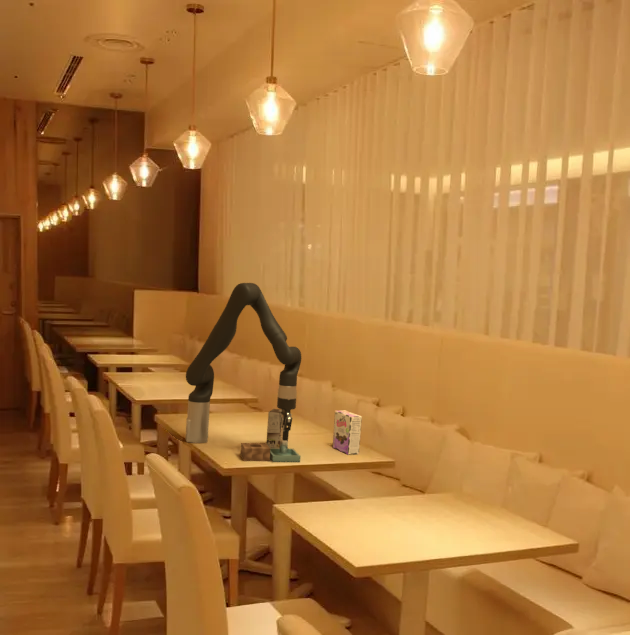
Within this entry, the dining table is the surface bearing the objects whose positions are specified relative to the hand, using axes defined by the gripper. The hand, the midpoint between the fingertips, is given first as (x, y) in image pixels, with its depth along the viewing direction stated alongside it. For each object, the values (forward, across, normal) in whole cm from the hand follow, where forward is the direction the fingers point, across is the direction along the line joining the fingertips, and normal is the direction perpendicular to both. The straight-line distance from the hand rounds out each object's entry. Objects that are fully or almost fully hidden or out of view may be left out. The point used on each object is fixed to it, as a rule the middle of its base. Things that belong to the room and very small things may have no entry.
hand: (284, 439), depth 314 cm
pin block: (+8, 0, -12) cm, 14 cm away
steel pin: (+6, 0, 0) cm, 6 cm away
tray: (+8, 0, 0) cm, 8 cm away
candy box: (+8, -14, +30) cm, 34 cm away
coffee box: (+8, -18, 0) cm, 20 cm away
